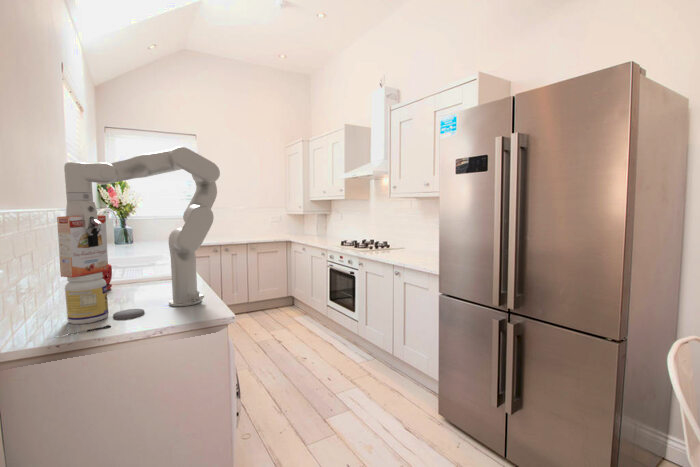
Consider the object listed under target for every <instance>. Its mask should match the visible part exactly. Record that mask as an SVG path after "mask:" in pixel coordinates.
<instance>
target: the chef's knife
mask: <svg viewBox="0 0 700 467" xmlns="http://www.w3.org/2000/svg"><path fill="white" fill-rule="evenodd" d="M111 327H112V326H111V325H110V324H107V325H104V326H101V327H100V326H99V327H94V328H89V329H83V330H79V331H78V332H77V331H74V333H73V332H69V334H68V333H67V334H68V336H72V335H71V334H74V335H77V333H79V334H83V333H84V334H85V333H90V332H94V330H95V331H98V330H104V329H110V328H111Z"/></svg>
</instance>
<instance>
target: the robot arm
mask: <svg viewBox="0 0 700 467" xmlns="http://www.w3.org/2000/svg"><path fill="white" fill-rule="evenodd" d="M63 168H64V183H65V195H66V196H65V197H66V210H65V216H81V217H82V223H83V229H84V230H86V231H87V232H88V234H89V235H90V236H88V246H89V247H95V246H98V235H99V231H100V228H101V225H102V224H101V222H99V221H98V210H97V206H96V203H95V201H94V196H93V195H94V194H93V183H96V184H98V185H101V186H102V185H105V186H106V185H109V184H110V185H111V184H114V183H119V182H123V181H128V180H133V179H141V178H142V179H143V178H147V177H152V176H158V175H162V174H165V173H166V174H167V173H171V172H175V171H181V170H183V171H185V172H187V173H189V174H191V176H192V179H193V180H194V183H195V187H196V188H195V192H194V194H193V196H192V198H191V200H190V202H189V204H187V205H188V206H187V208H185V211H184V212H183V216H182V218H183V222H184V224H183V226H182V227H177V228H175V229H173V230H172V231H171V232H170V234H169V236H168V247H169V248H168V249H169V254H170V255H169V256H170V270H171V272H170V273H171V288H172V299H170V300H169V301H168V305H169V306H170V307H189V306H194V305H197V304H200V303H201V302H202V301H203V299H204V298H205V295H204V294H200V291H199V290H198V279H197V278H198V276H197V257H196V251H198V250H199V248H200V247H201V246H202V244H203V242H204V240H205V239H206V237H207V236H208V234H209V231H210V229H211V227H212V225H213V223H214V217H215V216H214V212H213V211H212V209H213V205H214V203H215V202H216V198H217V194H218V189H217V188H218V186H217V183H216V181H218V180H219V178H220V177H221V176H220V175H221V170H220V168H219V167H218V165H217V164H216V163H215V162H212V161H211V160H210V159H207V158H205V157H204V156H203V155H201V154H199V153H197V152H196V151H194V150H191V149H190V148H187V147H185V146H176V147H174V148H171V149H165V150H161V151H156V152H149V153H148V152H147V153H143V154H138V155H136V156H134V157H131V158H128V159H124V160H119V161H114V162H109V163H108V162H93V163H90V162H89V163H88V162H87V163H86V162H82V161H81V162H80V161H70V162H65V164H64V167H63ZM93 224H94V225H93ZM91 230H92V231H91Z"/></svg>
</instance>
